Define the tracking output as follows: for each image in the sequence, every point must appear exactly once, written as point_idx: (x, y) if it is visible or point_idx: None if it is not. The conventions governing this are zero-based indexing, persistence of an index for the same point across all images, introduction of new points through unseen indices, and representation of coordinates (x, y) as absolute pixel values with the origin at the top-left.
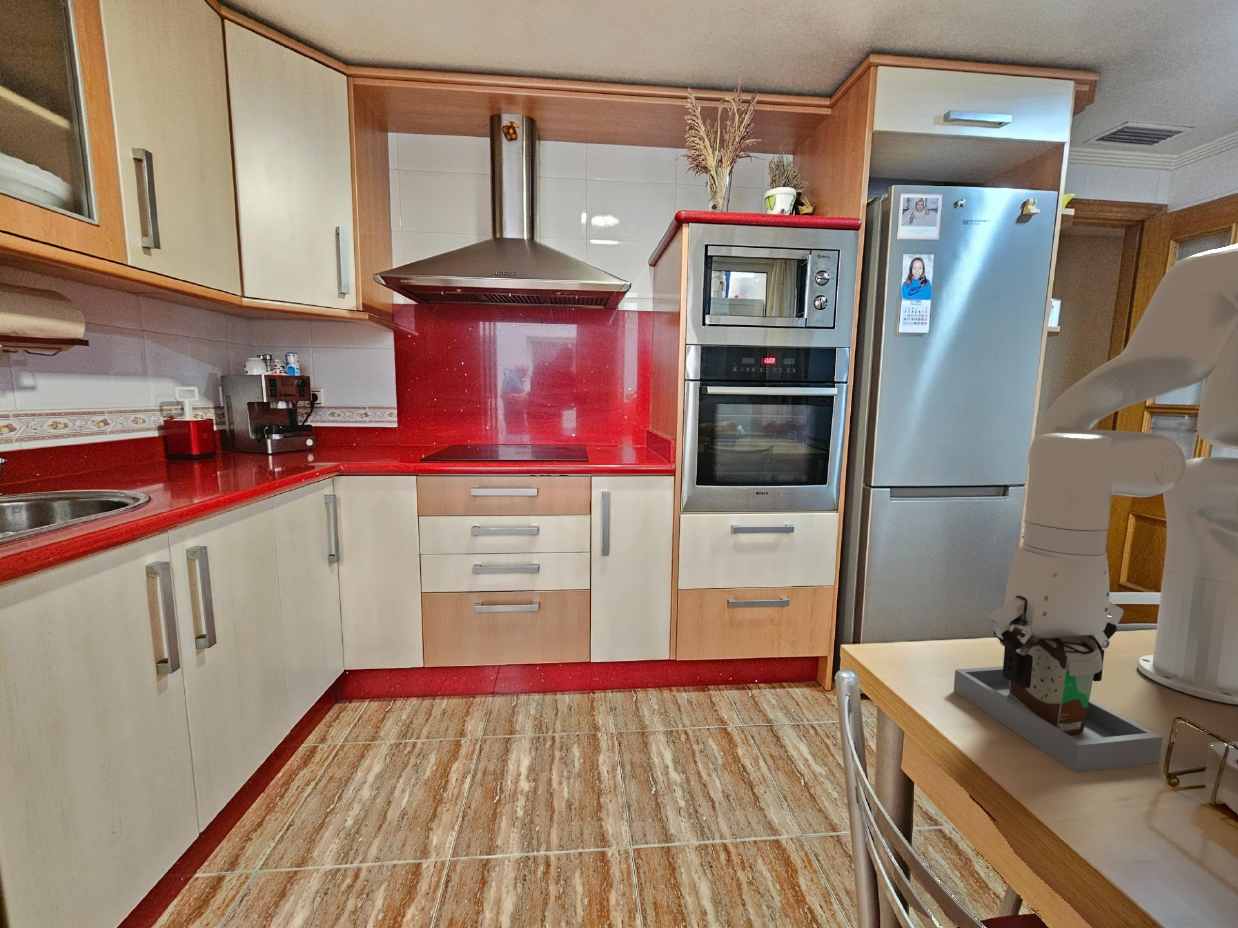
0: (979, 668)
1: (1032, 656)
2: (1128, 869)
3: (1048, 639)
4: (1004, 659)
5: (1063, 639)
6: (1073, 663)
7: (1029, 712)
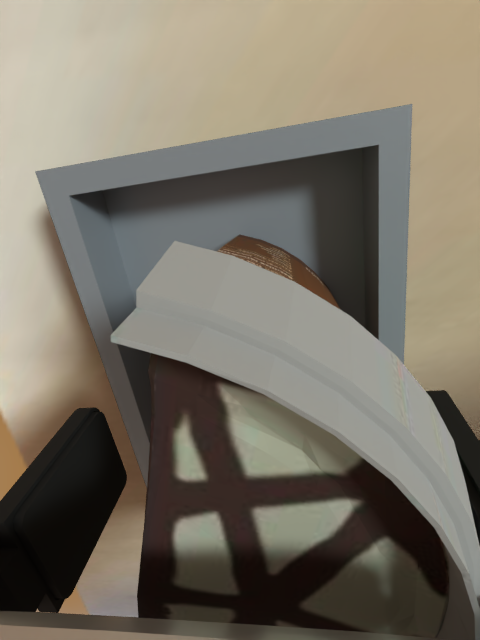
0: (148, 157)
1: (58, 610)
2: (113, 600)
3: (218, 594)
4: (40, 456)
5: (337, 594)
6: None
7: (143, 440)
